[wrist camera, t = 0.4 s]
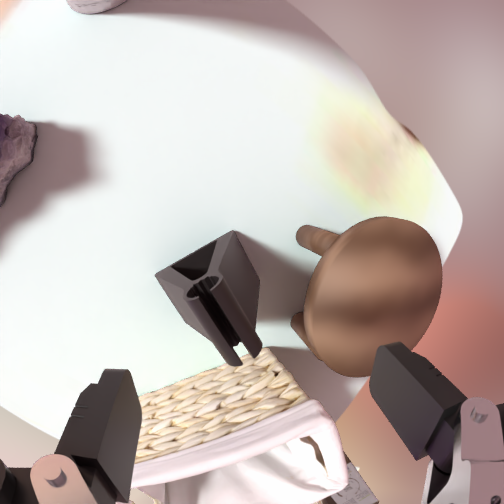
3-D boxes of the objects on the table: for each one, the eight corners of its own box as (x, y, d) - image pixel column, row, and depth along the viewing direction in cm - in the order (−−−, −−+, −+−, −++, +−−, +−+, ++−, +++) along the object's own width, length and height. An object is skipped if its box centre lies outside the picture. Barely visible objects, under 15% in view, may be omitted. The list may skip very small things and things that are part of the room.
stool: (281, 207, 30) (321, 216, 22) (398, 212, 34) (451, 221, 26) (274, 346, 34) (303, 392, 25) (382, 328, 38) (424, 358, 29)
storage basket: (276, 331, 34) (336, 413, 20) (307, 415, 38) (354, 487, 24) (98, 398, 30) (79, 491, 16) (161, 468, 35) (169, 546, 21)
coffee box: (295, 446, 39) (336, 521, 24) (331, 431, 41) (380, 500, 25) (300, 472, 42) (336, 537, 27) (332, 459, 43) (373, 519, 28)
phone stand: (184, 320, 31) (193, 391, 19) (154, 273, 29) (143, 327, 17) (258, 279, 32) (304, 330, 20) (233, 229, 30) (269, 257, 18)
